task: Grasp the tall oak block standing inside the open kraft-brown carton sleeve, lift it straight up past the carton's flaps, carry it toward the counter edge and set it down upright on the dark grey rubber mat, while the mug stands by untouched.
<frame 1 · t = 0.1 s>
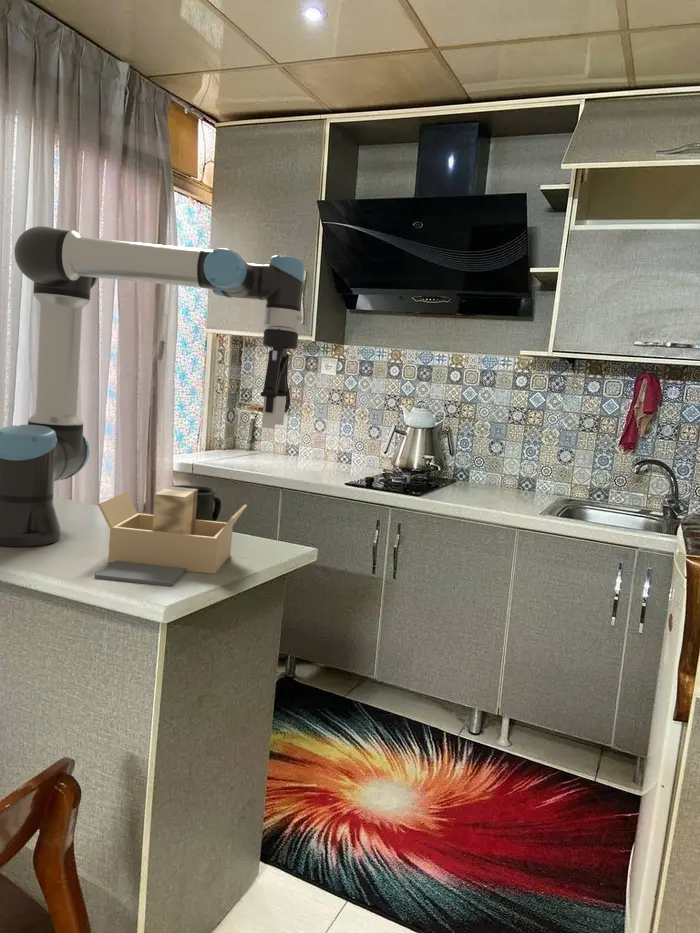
hand: (272, 426, 158), 28 cm above the countertop, fingers open, 13 cm apart
mug: (193, 541, 163), on the countertop
carton: (172, 558, 146), on the countertop
mat: (142, 574, 133), on the countertop
block: (174, 525, 145), in the carton
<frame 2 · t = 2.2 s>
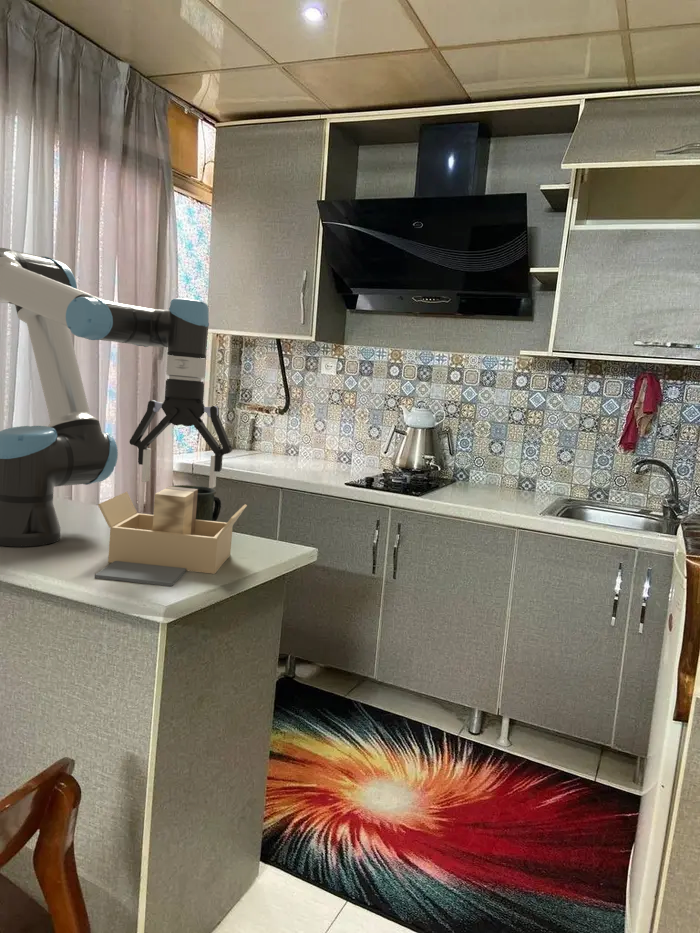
hand: (178, 484, 144), 16 cm above the countertop, fingers open, 13 cm apart
nothing on the countertop moved.
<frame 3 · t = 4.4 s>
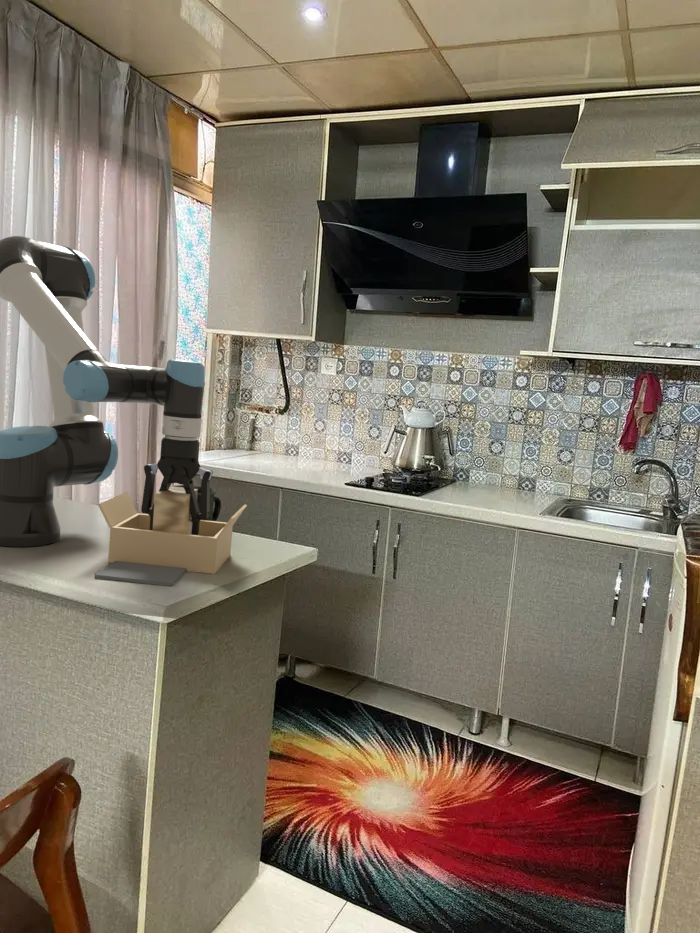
hand: (172, 549, 145), 2 cm above the countertop, fingers closed on block, 6 cm apart
block: (174, 525, 145), resting in carton, touching gripper
everything else where it was.
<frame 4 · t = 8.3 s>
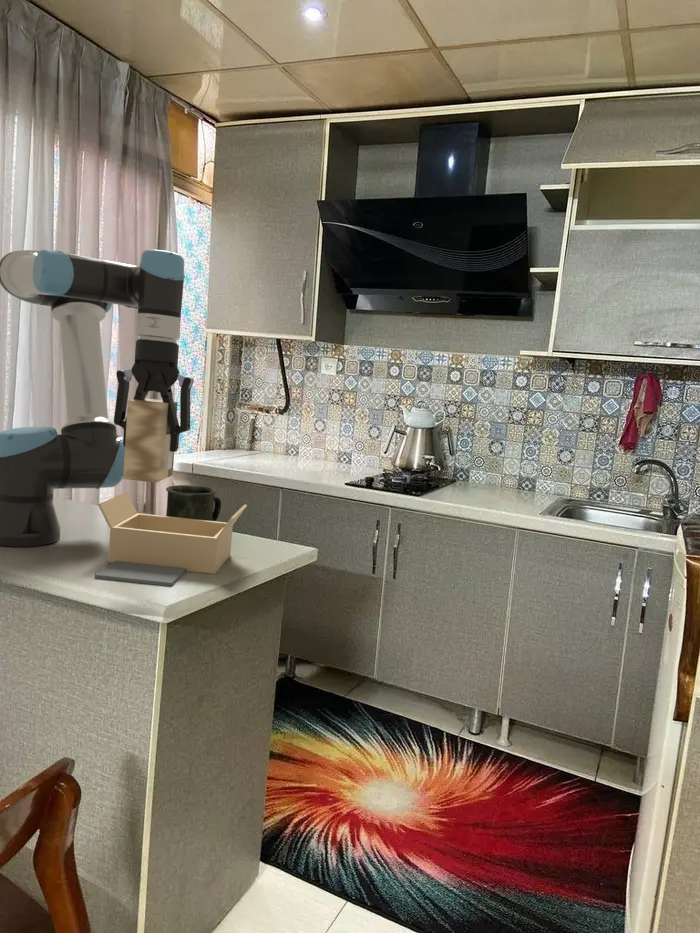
hand: (149, 466, 130), 20 cm above the countertop, fingers closed on block, 6 cm apart
block: (151, 439, 130), point 26 cm above the countertop, touching gripper
everything else where it was.
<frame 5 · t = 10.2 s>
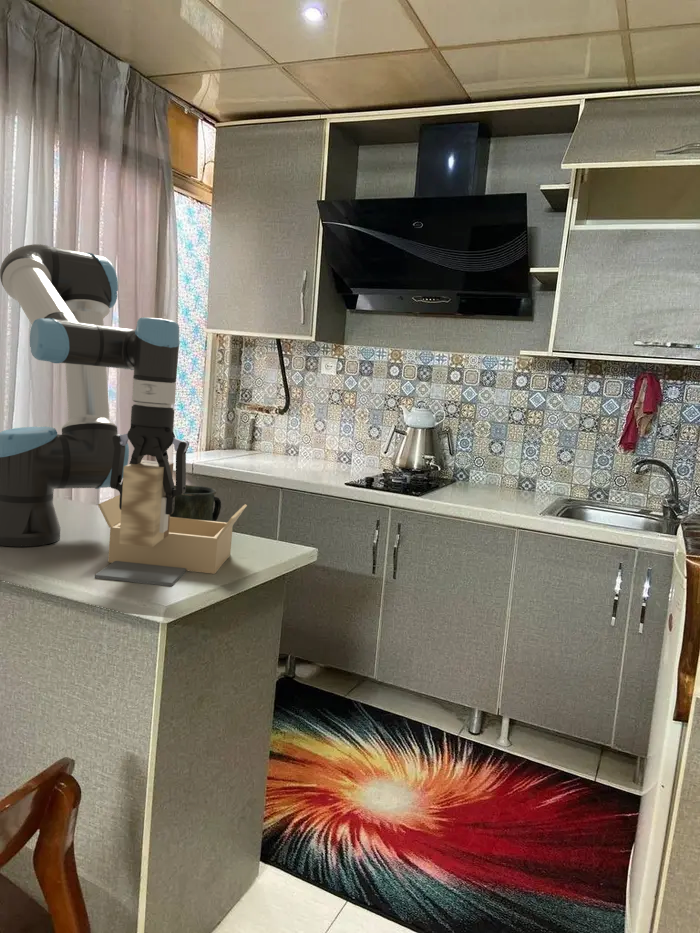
hand: (145, 529, 132), 9 cm above the countertop, fingers closed on block, 6 cm apart
block: (147, 502, 131), point 14 cm above the countertop, touching gripper
everything else where it was.
when the fingers open (4 cm above the countertop, at t = 12.0 s): block drops 1 cm, resting on mat.
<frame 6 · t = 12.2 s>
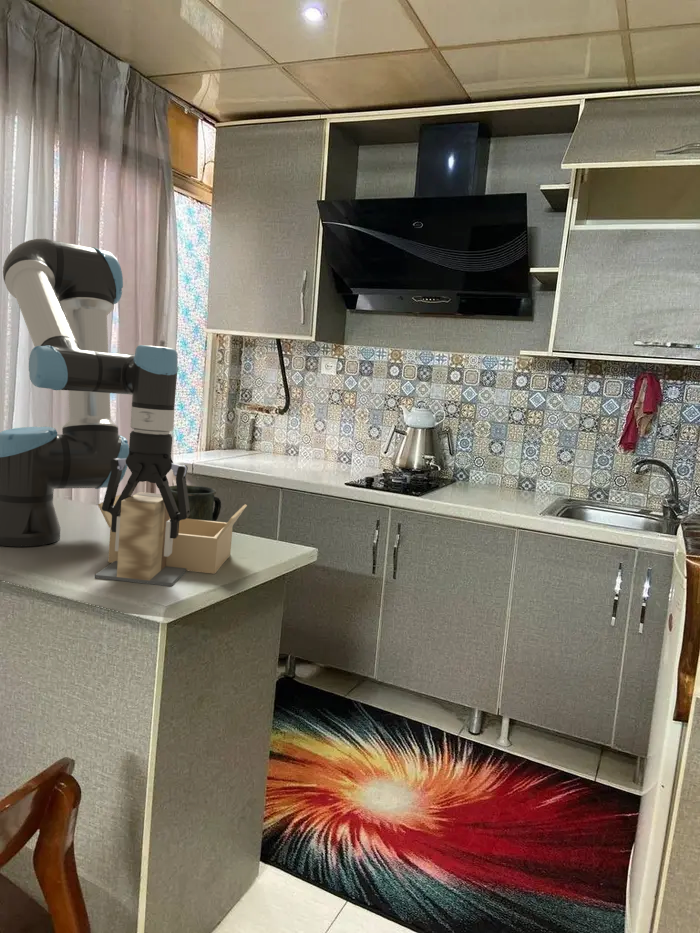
hand: (143, 552, 132), 4 cm above the countertop, fingers open, 8 cm apart
block: (144, 534, 132), on the mat, point 8 cm above the countertop
everything else where it was.
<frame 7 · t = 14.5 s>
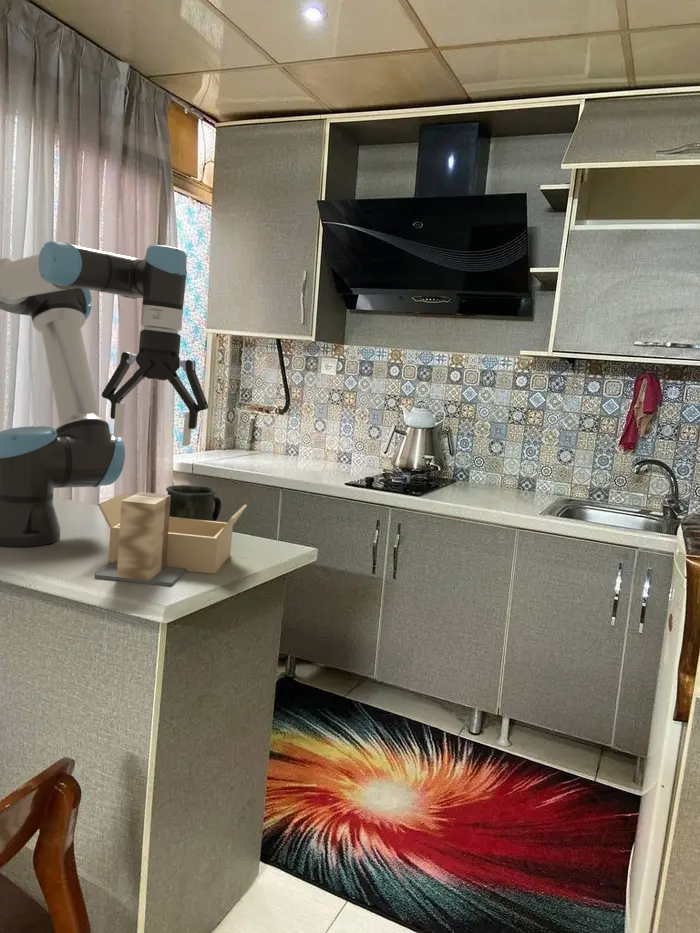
hand: (151, 441, 138), 24 cm above the countertop, fingers open, 13 cm apart
nothing on the countertop moved.
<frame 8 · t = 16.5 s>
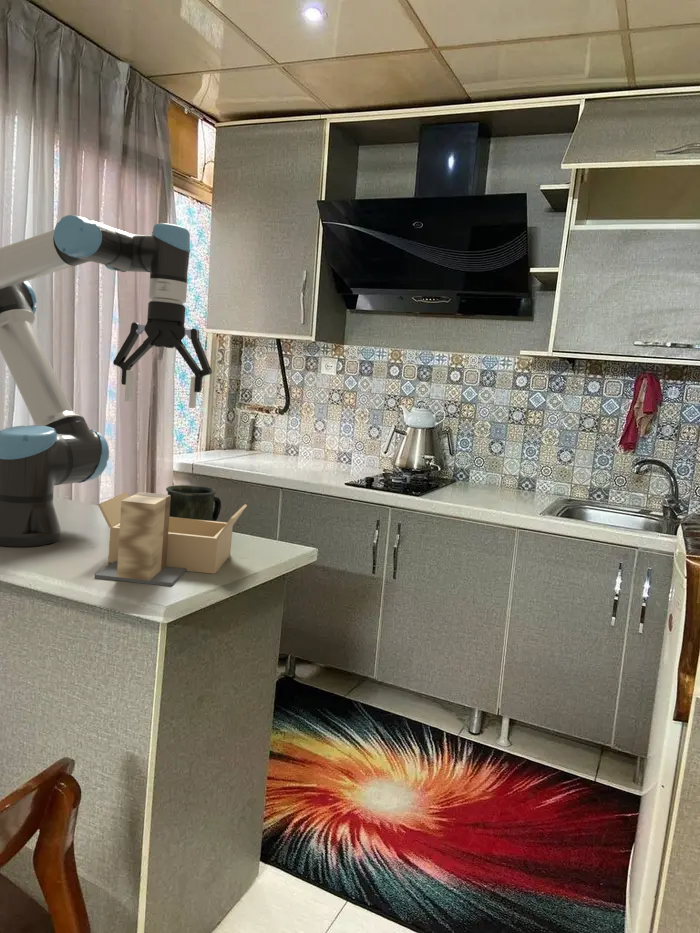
hand: (160, 404, 150), 31 cm above the countertop, fingers open, 13 cm apart
nothing on the countertop moved.
at the end: block inside the target area (0.0 cm from its centre), point 7.6 cm above the countertop; block tilted 0°; the gripper is holding nothing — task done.
